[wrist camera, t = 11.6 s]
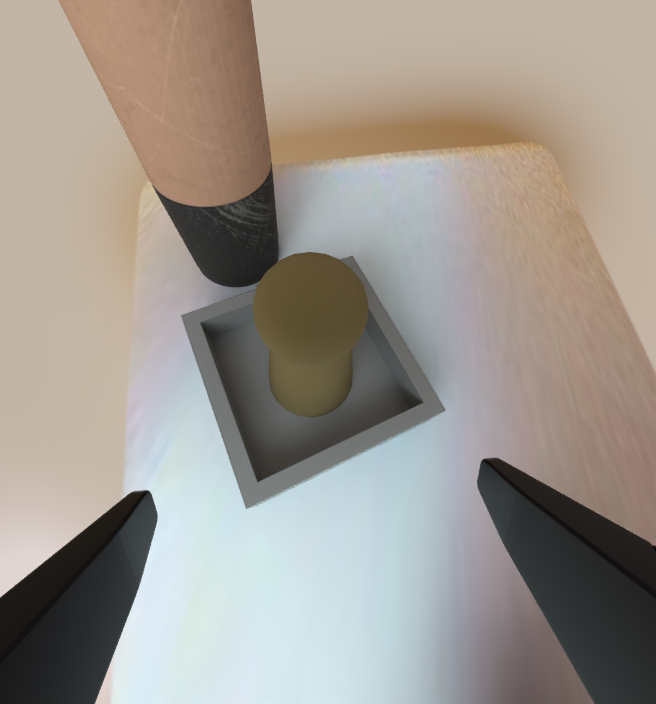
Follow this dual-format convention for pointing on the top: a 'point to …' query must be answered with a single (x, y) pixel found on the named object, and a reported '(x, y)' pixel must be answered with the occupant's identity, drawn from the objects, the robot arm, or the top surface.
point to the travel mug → (192, 120)
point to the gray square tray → (292, 430)
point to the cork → (310, 330)
